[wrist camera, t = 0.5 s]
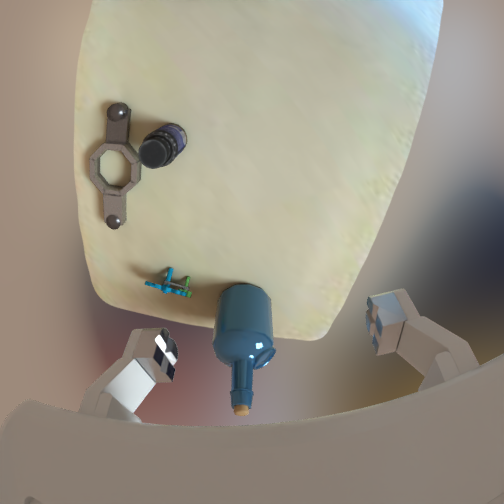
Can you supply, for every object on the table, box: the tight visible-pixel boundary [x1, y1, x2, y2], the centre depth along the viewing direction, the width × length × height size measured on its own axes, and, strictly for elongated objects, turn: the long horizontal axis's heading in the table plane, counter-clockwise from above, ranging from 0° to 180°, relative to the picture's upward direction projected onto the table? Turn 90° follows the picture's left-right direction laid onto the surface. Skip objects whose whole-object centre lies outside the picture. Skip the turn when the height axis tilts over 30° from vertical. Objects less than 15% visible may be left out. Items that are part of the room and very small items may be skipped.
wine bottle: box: [212, 284, 276, 416], centre depth 56 cm, size 14×13×30 cm
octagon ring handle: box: [90, 103, 142, 229], centre depth 48 cm, size 26×11×3 cm, turn 168°
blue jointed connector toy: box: [145, 268, 192, 297], centre depth 62 cm, size 11×6×10 cm
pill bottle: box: [138, 124, 187, 169], centre depth 42 cm, size 6×6×11 cm
